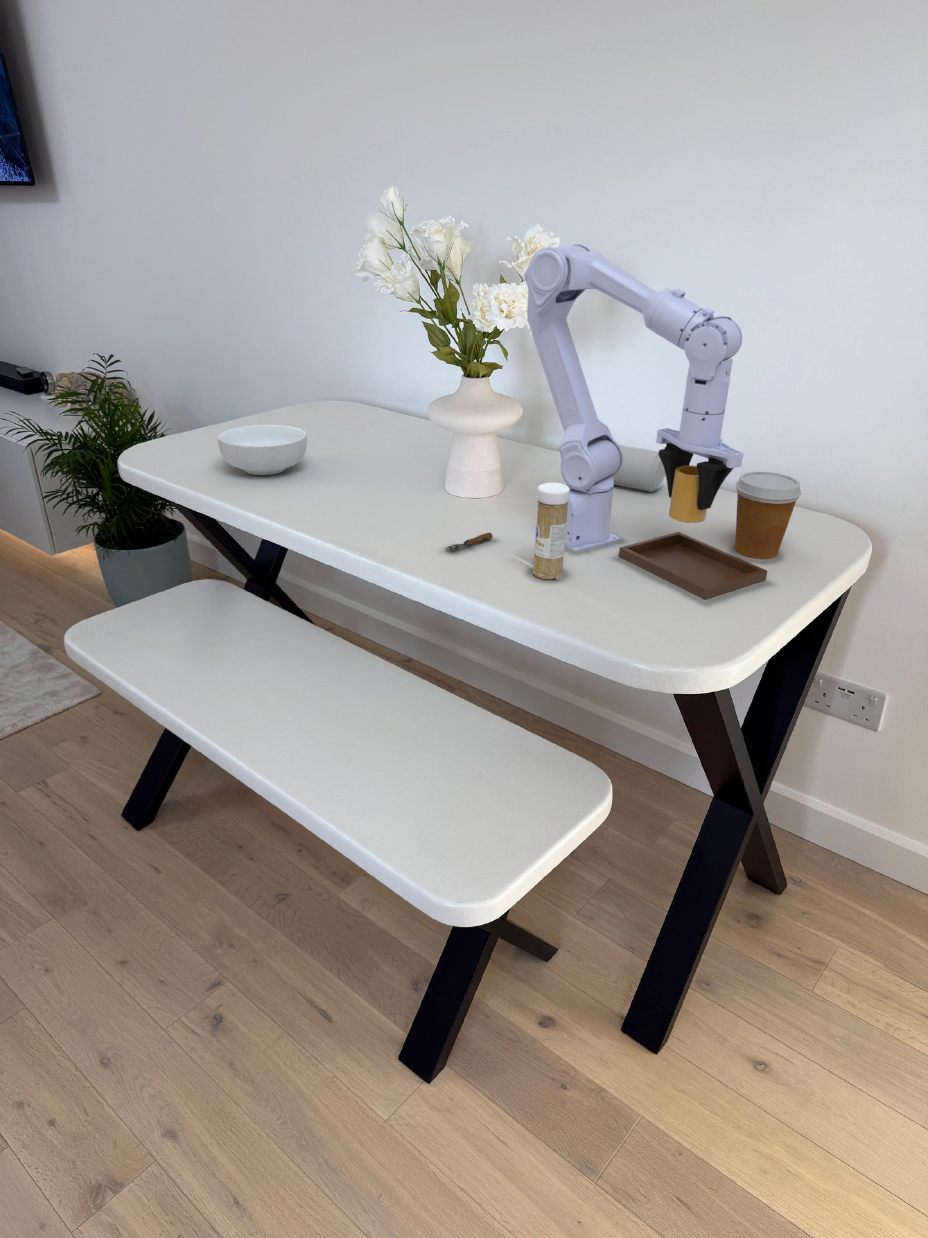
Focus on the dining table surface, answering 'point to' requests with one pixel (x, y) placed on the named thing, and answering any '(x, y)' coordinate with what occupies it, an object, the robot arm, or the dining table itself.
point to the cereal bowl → (263, 448)
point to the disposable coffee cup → (763, 512)
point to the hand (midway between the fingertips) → (689, 502)
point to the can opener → (472, 541)
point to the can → (640, 469)
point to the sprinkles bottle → (550, 530)
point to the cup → (686, 496)
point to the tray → (693, 565)
